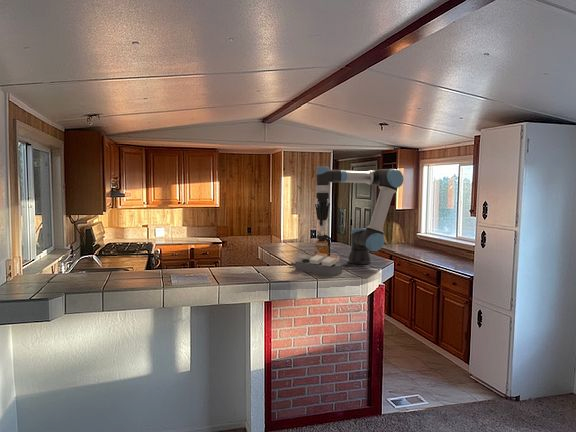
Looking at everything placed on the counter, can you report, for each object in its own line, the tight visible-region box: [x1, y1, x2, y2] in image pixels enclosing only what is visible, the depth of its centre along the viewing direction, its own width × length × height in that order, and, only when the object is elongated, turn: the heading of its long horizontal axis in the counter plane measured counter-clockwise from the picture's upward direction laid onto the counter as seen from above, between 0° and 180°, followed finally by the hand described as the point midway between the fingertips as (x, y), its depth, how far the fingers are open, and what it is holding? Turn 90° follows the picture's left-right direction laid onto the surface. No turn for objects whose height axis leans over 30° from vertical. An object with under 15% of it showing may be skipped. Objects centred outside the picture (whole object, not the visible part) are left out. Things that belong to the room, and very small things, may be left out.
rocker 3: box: [321, 254, 341, 266], centre depth 264 cm, size 10×6×3 cm, turn 139°
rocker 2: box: [309, 253, 327, 264], centre depth 270 cm, size 10×6×3 cm, turn 139°
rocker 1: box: [297, 252, 315, 259], centre depth 276 cm, size 10×6×3 cm, turn 140°
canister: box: [314, 234, 332, 257], centre depth 288 cm, size 9×11×20 cm
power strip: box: [290, 258, 343, 277], centre depth 273 cm, size 11×35×6 cm, turn 49°
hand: (322, 230), depth 271 cm, fingers closed
